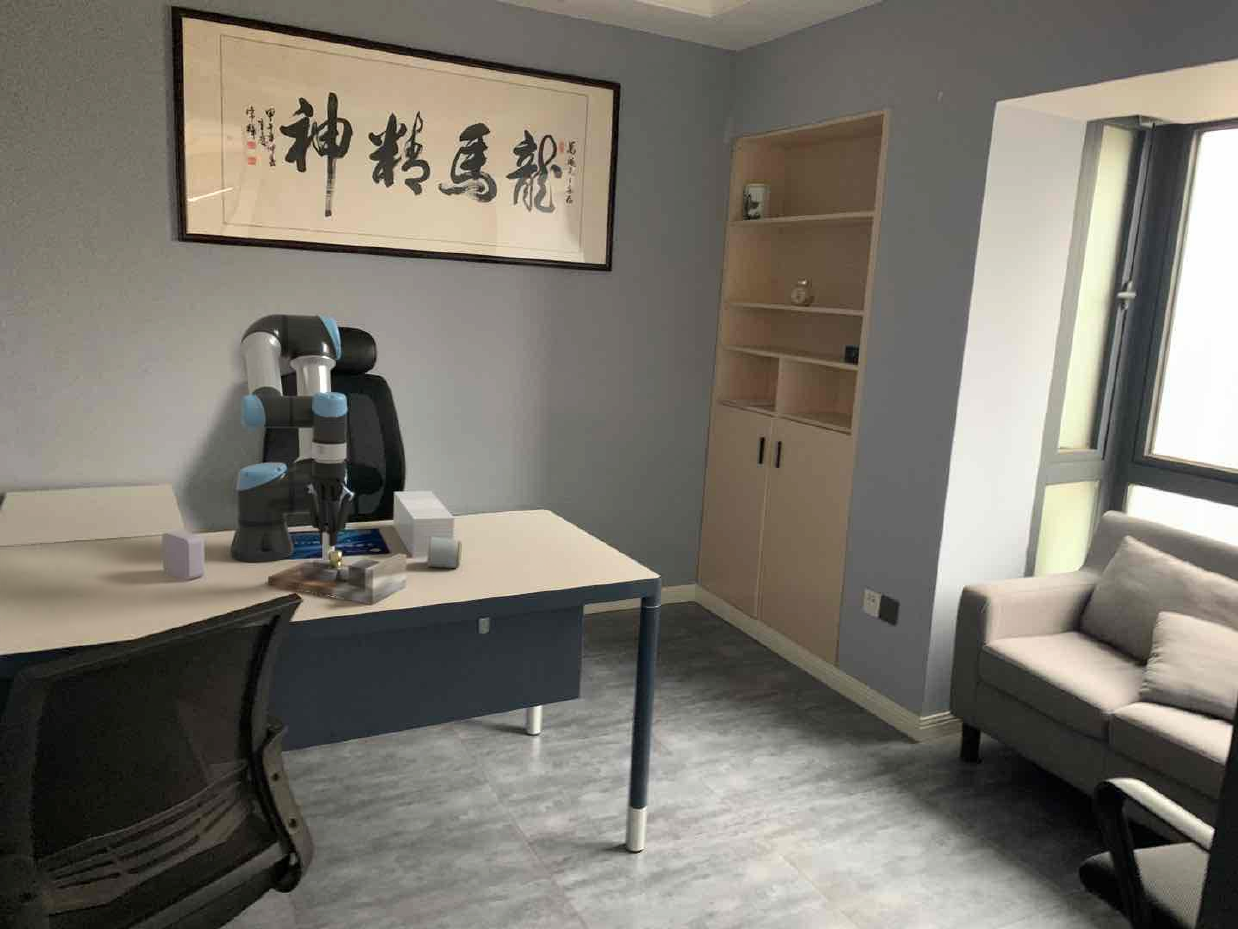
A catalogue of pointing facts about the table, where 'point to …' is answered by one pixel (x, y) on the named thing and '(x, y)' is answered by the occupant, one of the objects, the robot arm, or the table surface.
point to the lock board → (362, 585)
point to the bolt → (338, 564)
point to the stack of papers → (421, 520)
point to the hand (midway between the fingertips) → (328, 558)
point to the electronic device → (183, 555)
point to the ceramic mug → (444, 553)
